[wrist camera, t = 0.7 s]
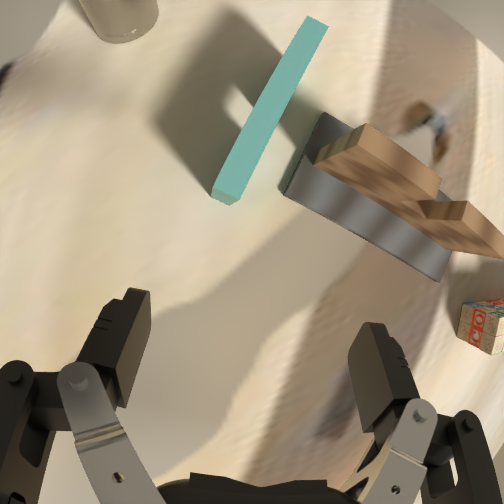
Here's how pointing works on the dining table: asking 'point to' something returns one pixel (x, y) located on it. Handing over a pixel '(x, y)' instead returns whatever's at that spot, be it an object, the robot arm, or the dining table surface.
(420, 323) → the dining table surface
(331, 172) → the halving stand
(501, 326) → the stack of blocks
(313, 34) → the teal plate
